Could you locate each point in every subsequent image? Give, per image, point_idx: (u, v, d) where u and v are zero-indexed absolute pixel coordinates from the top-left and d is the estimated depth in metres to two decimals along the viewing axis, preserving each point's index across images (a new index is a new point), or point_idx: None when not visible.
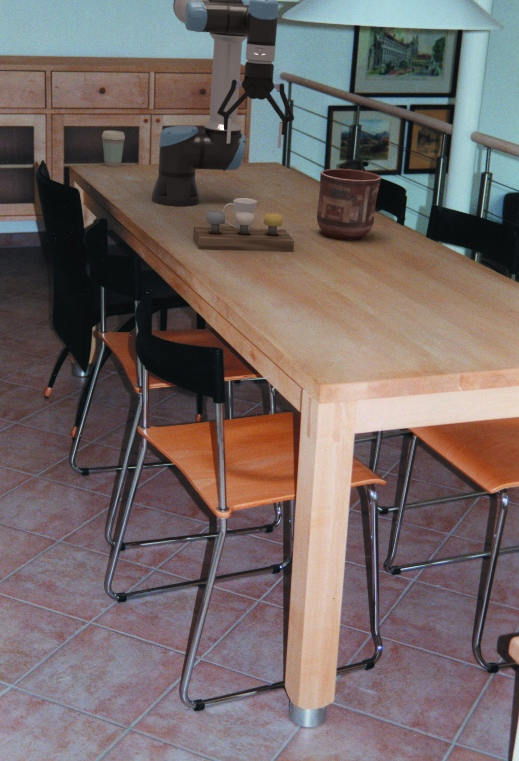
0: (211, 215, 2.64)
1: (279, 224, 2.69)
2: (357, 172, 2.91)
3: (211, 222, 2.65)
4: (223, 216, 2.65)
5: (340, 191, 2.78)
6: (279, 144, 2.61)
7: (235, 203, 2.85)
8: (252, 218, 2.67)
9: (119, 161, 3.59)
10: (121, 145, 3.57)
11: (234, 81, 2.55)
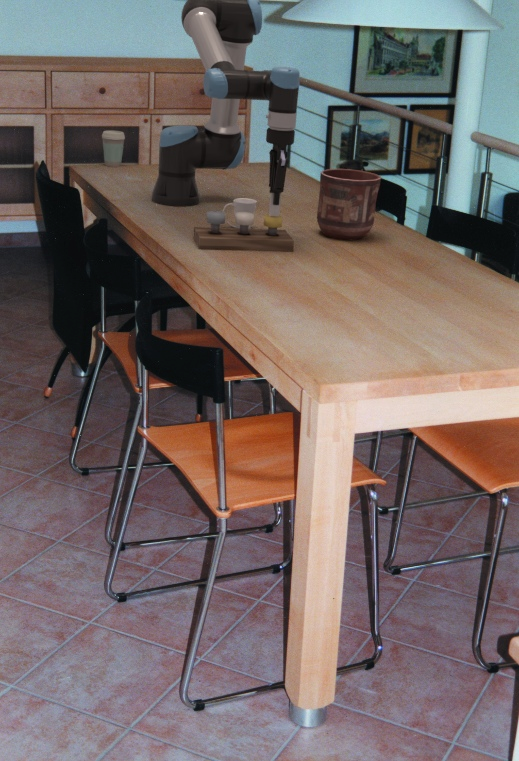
0: (211, 215, 2.64)
1: (279, 225, 2.69)
2: (357, 172, 2.91)
3: (211, 222, 2.65)
4: (223, 216, 2.65)
5: (340, 191, 2.78)
6: (269, 212, 2.68)
7: (235, 203, 2.85)
8: (252, 218, 2.67)
9: (119, 161, 3.59)
10: (121, 145, 3.57)
11: (269, 152, 2.68)
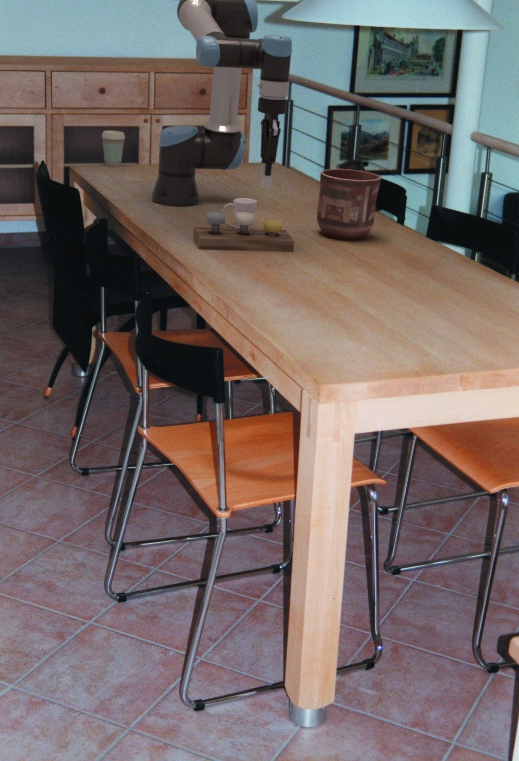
0: (211, 215, 2.64)
1: (278, 230, 2.70)
2: (357, 172, 2.91)
3: (211, 222, 2.65)
4: (223, 216, 2.65)
5: (340, 191, 2.78)
6: (261, 183, 2.65)
7: (235, 203, 2.85)
8: (252, 218, 2.67)
9: (119, 161, 3.59)
10: (121, 145, 3.57)
11: (261, 122, 2.65)
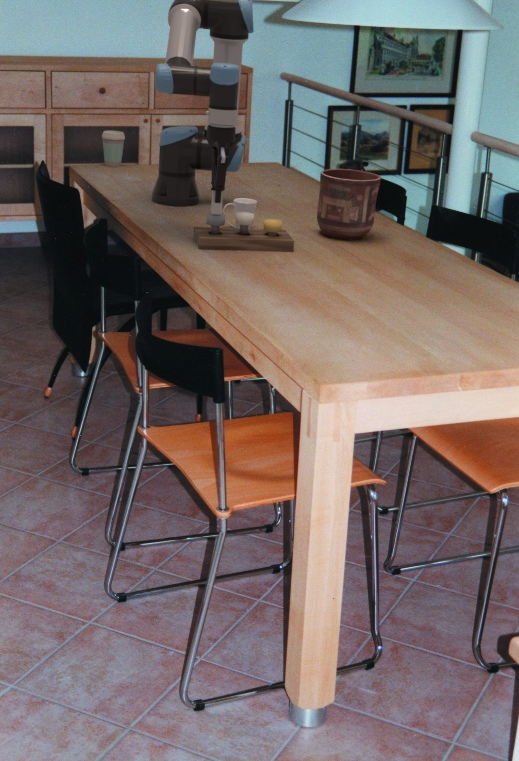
0: (211, 217, 2.65)
1: (278, 230, 2.70)
2: (357, 172, 2.91)
3: (211, 223, 2.65)
4: (223, 217, 2.66)
5: (340, 191, 2.78)
6: (211, 210, 2.65)
7: (235, 203, 2.85)
8: (252, 218, 2.67)
9: (119, 161, 3.59)
10: (121, 145, 3.57)
11: (211, 149, 2.65)
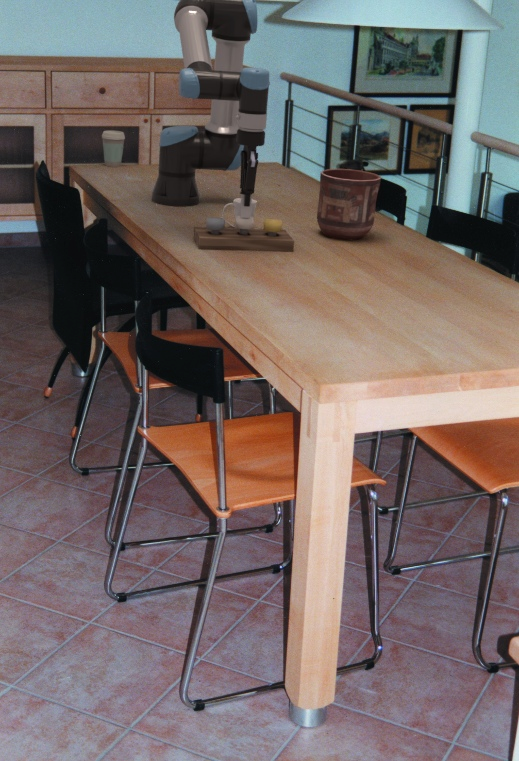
0: (211, 221, 2.65)
1: (278, 230, 2.70)
2: (357, 172, 2.91)
3: (211, 228, 2.66)
4: (223, 222, 2.66)
5: (340, 191, 2.78)
6: (240, 214, 2.67)
7: (235, 203, 2.85)
8: (252, 222, 2.68)
9: (119, 161, 3.59)
10: (121, 145, 3.57)
11: (240, 153, 2.67)
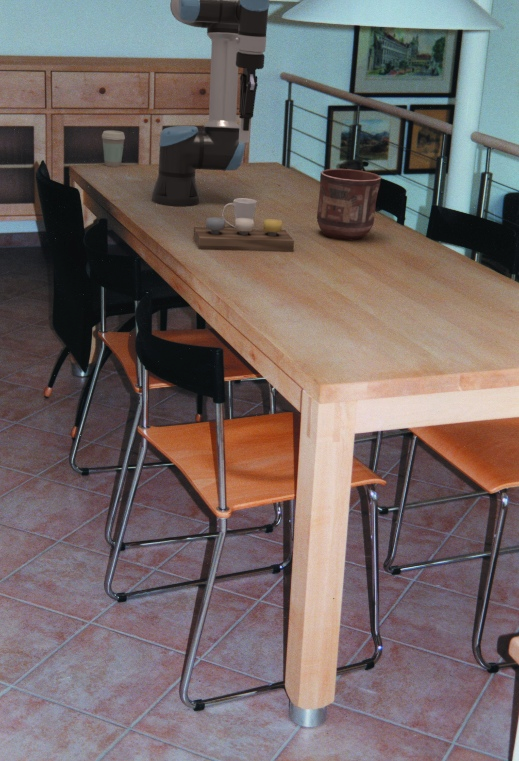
0: (211, 221, 2.65)
1: (278, 230, 2.70)
2: (357, 172, 2.91)
3: (211, 228, 2.66)
4: (223, 222, 2.66)
5: (340, 191, 2.78)
6: (239, 138, 2.69)
7: (235, 203, 2.85)
8: (252, 224, 2.68)
9: (119, 161, 3.59)
10: (121, 145, 3.57)
11: None
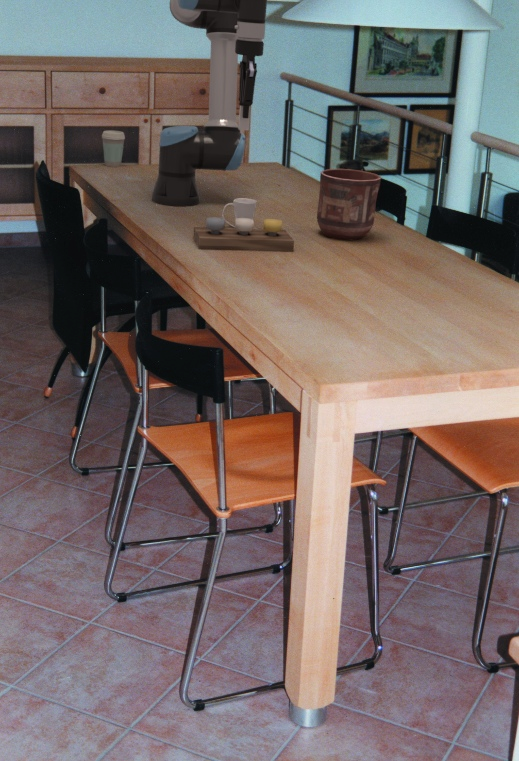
0: (211, 221, 2.65)
1: (278, 230, 2.70)
2: (357, 172, 2.91)
3: (211, 228, 2.66)
4: (223, 222, 2.66)
5: (340, 191, 2.78)
6: (239, 126, 2.69)
7: (235, 203, 2.85)
8: (252, 224, 2.68)
9: (119, 161, 3.59)
10: (121, 145, 3.57)
11: None
